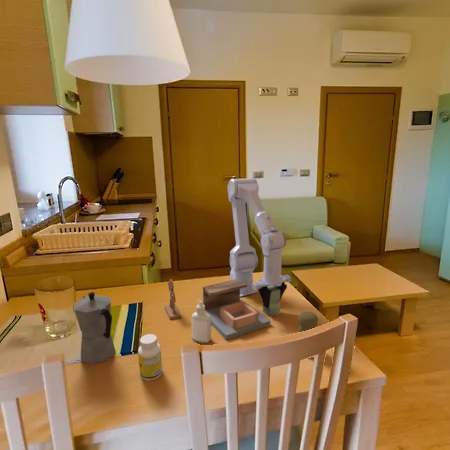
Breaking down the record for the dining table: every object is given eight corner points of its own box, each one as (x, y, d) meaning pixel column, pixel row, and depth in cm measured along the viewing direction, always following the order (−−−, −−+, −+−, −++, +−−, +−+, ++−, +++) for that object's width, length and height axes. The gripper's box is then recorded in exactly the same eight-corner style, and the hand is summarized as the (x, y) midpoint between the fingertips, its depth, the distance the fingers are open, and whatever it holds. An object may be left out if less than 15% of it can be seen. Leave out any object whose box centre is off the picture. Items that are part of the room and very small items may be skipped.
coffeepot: (70, 351, 85) (61, 291, 81) (102, 336, 92) (96, 280, 88) (97, 377, 75) (89, 310, 71) (131, 358, 82) (126, 296, 78)
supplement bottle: (142, 366, 79) (139, 332, 77) (163, 365, 79) (161, 331, 77) (138, 382, 74) (135, 345, 71) (161, 380, 74) (158, 344, 72)
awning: (203, 308, 105) (202, 287, 103) (238, 299, 112) (238, 278, 110) (210, 316, 100) (210, 293, 98) (246, 305, 107) (246, 284, 105)
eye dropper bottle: (200, 346, 87) (199, 307, 84) (190, 337, 91) (188, 300, 89) (213, 340, 90) (212, 303, 87) (202, 332, 94) (201, 296, 91)
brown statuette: (181, 317, 102) (180, 284, 100) (169, 320, 101) (168, 286, 98) (175, 305, 110) (173, 274, 108) (164, 307, 109) (162, 276, 106)
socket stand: (200, 312, 105) (199, 300, 104) (239, 301, 113) (240, 290, 112) (226, 340, 90) (225, 326, 89) (270, 325, 97) (270, 312, 96)
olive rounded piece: (318, 358, 82) (321, 320, 79) (295, 355, 83) (297, 318, 80) (316, 344, 87) (319, 309, 85) (294, 342, 89) (296, 307, 86)
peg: (262, 311, 106) (263, 287, 104) (272, 308, 108) (272, 285, 106) (269, 317, 102) (270, 292, 100) (279, 314, 104) (280, 289, 102)
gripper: (261, 275, 94) (260, 315, 97) (297, 266, 101) (295, 304, 104) (248, 268, 100) (248, 306, 103) (283, 260, 107) (282, 296, 110)
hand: (271, 305), depth 104 cm, fingers closed on peg, 4 cm apart
